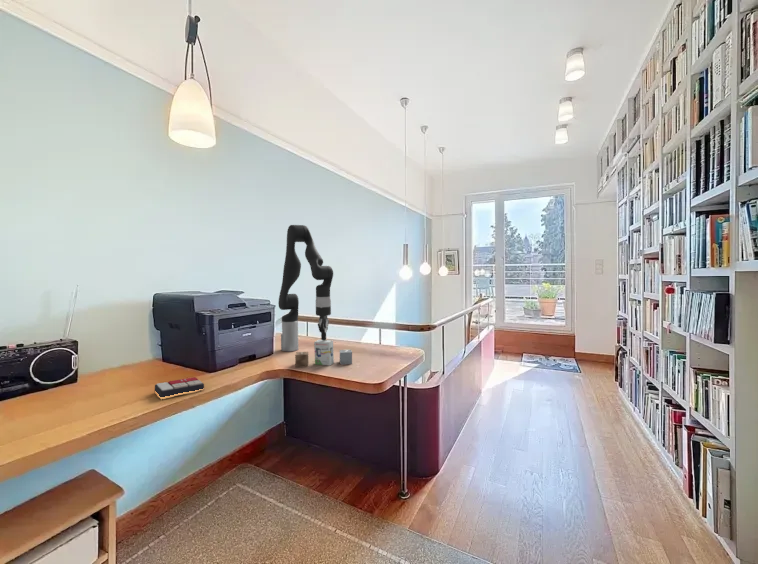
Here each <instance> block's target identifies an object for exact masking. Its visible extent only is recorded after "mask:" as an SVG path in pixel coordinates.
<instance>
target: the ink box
mask: <svg viewBox="0 0 758 564" xmlns="http://www.w3.org/2000/svg"><path fill="white" fill-rule="evenodd" d="M313 346H314V364H315V365H317V366H331V365H333V364H334V363H335V359H334V340H333V339H331V340H330V339H326V340H321V339H317V340H315V341H314V342H313Z"/></svg>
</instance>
